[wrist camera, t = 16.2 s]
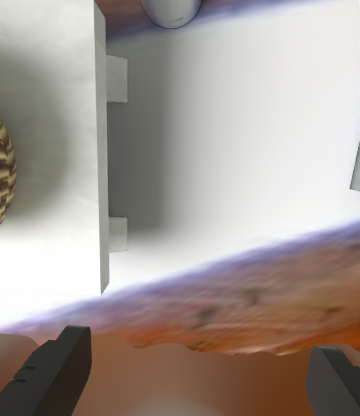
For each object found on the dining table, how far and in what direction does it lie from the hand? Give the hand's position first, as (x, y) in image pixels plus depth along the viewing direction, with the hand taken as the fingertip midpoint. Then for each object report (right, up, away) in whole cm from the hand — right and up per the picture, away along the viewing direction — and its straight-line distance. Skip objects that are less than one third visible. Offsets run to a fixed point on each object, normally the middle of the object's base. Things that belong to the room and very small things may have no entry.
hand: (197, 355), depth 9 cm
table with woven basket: (-25, +14, +32) cm, 43 cm away
